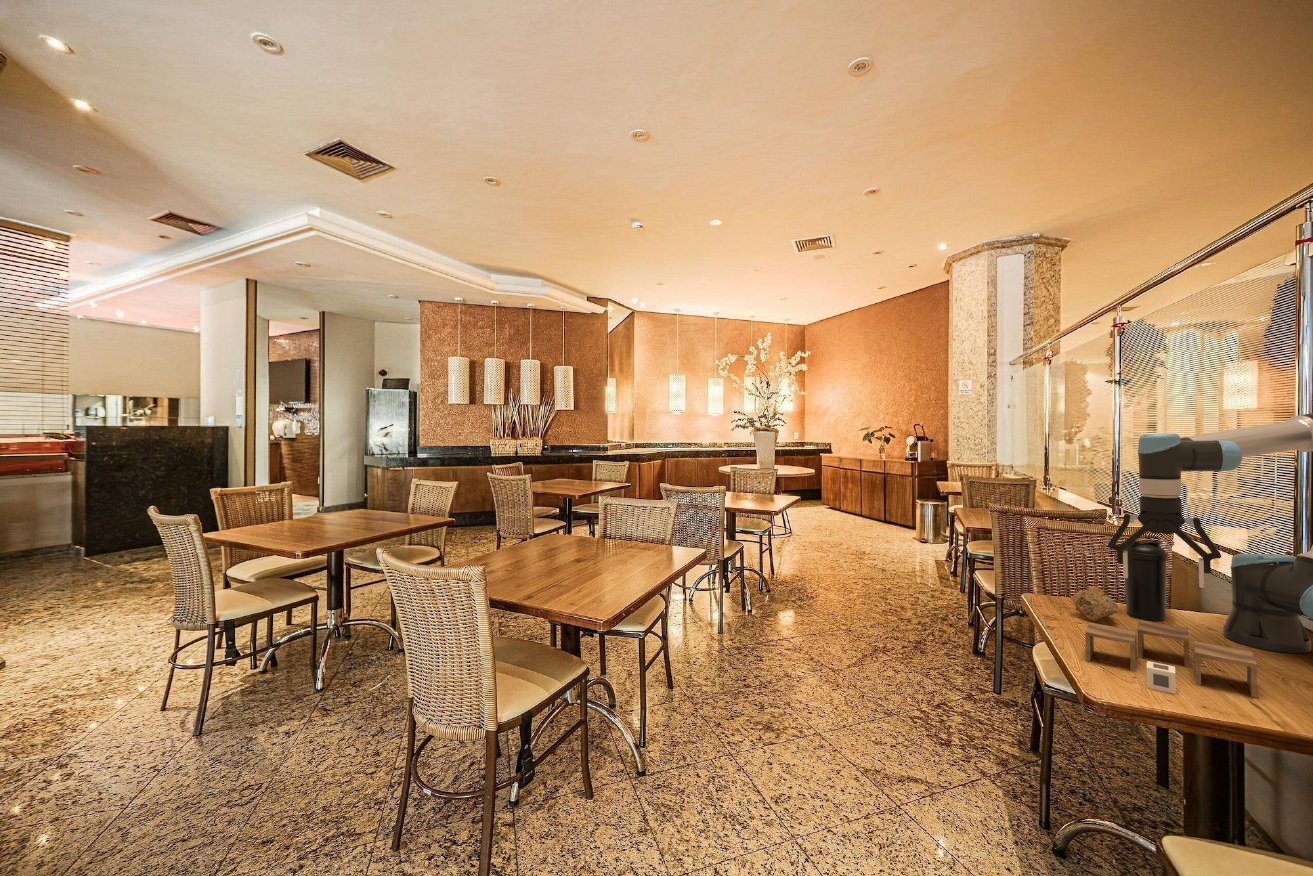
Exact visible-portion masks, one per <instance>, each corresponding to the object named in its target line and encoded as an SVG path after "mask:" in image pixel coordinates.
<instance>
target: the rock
mask: <svg viewBox="0 0 1313 876" xmlns="http://www.w3.org/2000/svg"><path fill="white" fill-rule="evenodd" d="M1070 600H1071V601H1072V602H1073V604H1074V605H1075V611H1077V612H1079V613H1080V614H1081V615H1084V616H1085V617H1086V618H1087V619H1088V620H1090V621H1093V622H1095V621H1096V622H1097V621H1099V620H1100V619H1107V618H1109V617H1110V616H1113V615H1114V614H1117V613H1118V612H1119V611H1118V608H1119V606H1118V604H1117V602H1115V601H1114V600H1113V598H1111V597H1109V595H1107V594H1106V593H1104V591H1103V590H1101V588H1099V587H1098V586H1094V585H1093V586H1092V585H1091V586H1090V587H1088V588H1087V589H1085V590H1084V589H1083V590H1079V591H1078V592H1076V593H1074V594H1073V595H1072V596H1071V597H1070Z"/></svg>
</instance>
